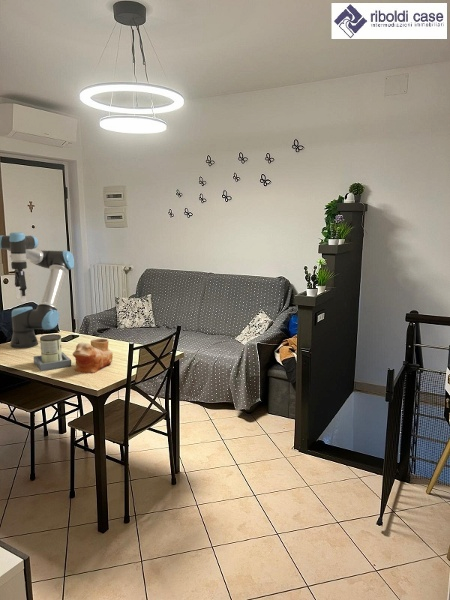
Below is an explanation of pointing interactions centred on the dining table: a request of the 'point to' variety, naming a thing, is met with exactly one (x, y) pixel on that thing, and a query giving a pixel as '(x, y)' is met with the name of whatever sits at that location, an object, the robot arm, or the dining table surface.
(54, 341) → the coffee can
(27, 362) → the dining table surface
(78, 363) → the ceramic vessel
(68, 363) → the tray
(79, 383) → the dining table surface
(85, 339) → the dining table surface
